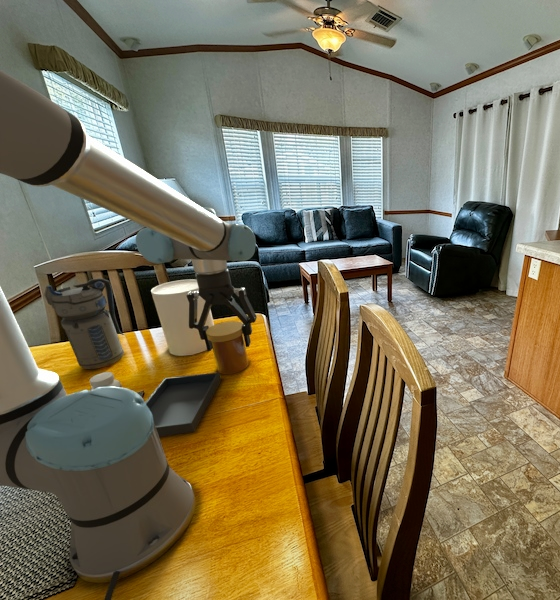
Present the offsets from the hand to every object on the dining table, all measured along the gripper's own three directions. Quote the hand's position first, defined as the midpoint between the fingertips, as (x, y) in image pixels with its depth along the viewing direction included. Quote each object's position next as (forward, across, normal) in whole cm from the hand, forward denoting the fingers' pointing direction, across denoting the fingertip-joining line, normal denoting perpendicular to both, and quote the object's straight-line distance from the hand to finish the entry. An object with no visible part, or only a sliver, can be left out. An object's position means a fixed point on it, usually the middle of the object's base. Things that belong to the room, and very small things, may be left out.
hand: (229, 346), depth 92 cm
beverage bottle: (+7, +38, -11) cm, 40 cm away
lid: (-6, 0, 0) cm, 6 cm away
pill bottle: (+6, +22, +15) cm, 28 cm away
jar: (+6, 0, 0) cm, 6 cm away
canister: (+7, +16, -16) cm, 23 cm away
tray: (+6, +8, +16) cm, 19 cm away
